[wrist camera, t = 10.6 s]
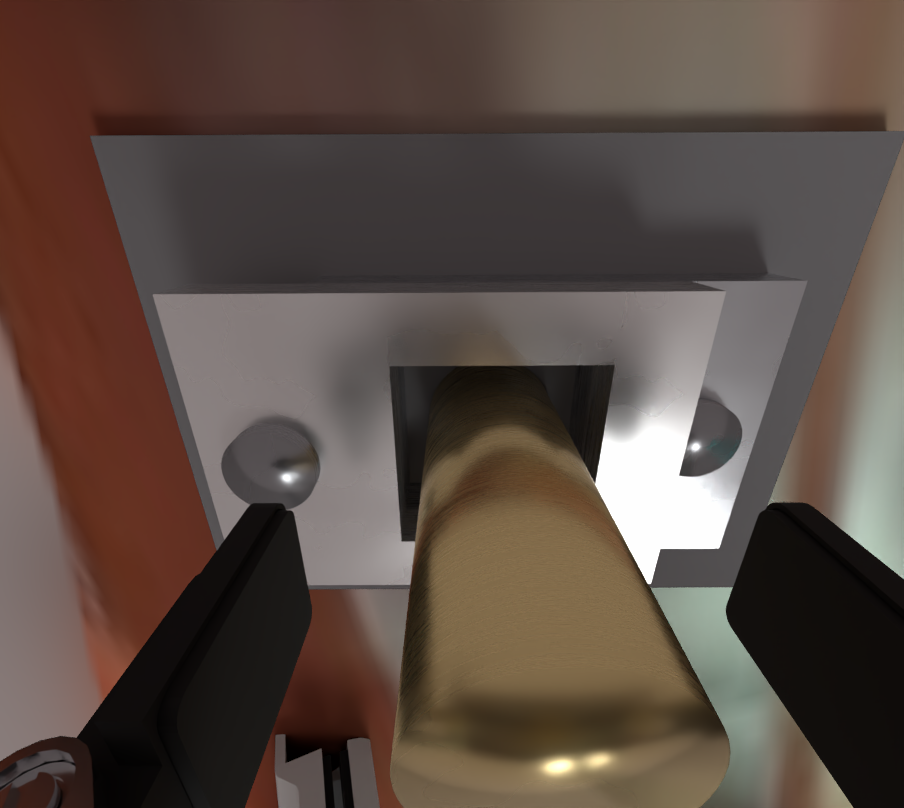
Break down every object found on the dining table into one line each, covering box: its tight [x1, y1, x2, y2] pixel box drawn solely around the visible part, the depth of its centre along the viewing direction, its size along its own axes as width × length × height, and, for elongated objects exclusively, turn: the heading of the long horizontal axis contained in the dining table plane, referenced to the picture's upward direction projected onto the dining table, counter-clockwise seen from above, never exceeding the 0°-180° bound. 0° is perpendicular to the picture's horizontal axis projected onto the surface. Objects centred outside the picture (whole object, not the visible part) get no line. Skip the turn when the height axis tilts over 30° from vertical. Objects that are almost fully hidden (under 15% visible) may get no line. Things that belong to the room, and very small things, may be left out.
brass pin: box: [390, 366, 730, 808], centre depth 10 cm, size 4×4×10 cm
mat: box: [90, 131, 904, 589], centre depth 14 cm, size 21×16×1 cm
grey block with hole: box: [153, 273, 808, 585], centre depth 13 cm, size 16×9×4 cm, turn 90°
